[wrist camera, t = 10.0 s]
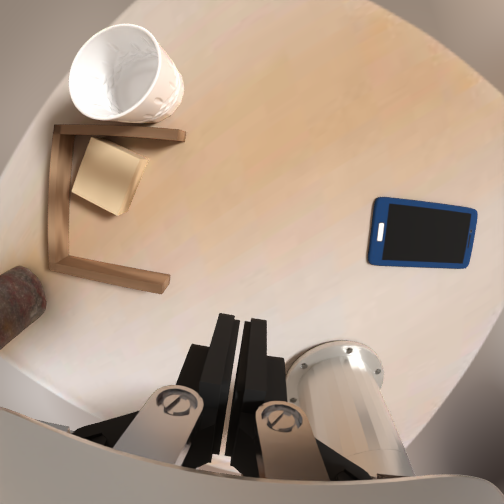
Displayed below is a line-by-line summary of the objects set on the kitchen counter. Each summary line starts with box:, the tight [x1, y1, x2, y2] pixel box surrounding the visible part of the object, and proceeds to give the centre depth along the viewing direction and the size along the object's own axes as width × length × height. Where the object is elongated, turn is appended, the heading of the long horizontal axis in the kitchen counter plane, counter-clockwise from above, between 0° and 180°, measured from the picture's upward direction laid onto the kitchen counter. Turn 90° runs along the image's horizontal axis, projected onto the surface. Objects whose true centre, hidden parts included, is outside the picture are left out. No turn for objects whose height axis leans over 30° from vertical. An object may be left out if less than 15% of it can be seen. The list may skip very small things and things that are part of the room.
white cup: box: [68, 24, 184, 123], centre depth 24 cm, size 8×8×10 cm
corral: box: [48, 125, 186, 294], centre depth 31 cm, size 16×14×3 cm
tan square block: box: [72, 137, 149, 216], centre depth 30 cm, size 6×6×3 cm
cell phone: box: [368, 197, 477, 269], centre depth 32 cm, size 7×14×1 cm, turn 88°
